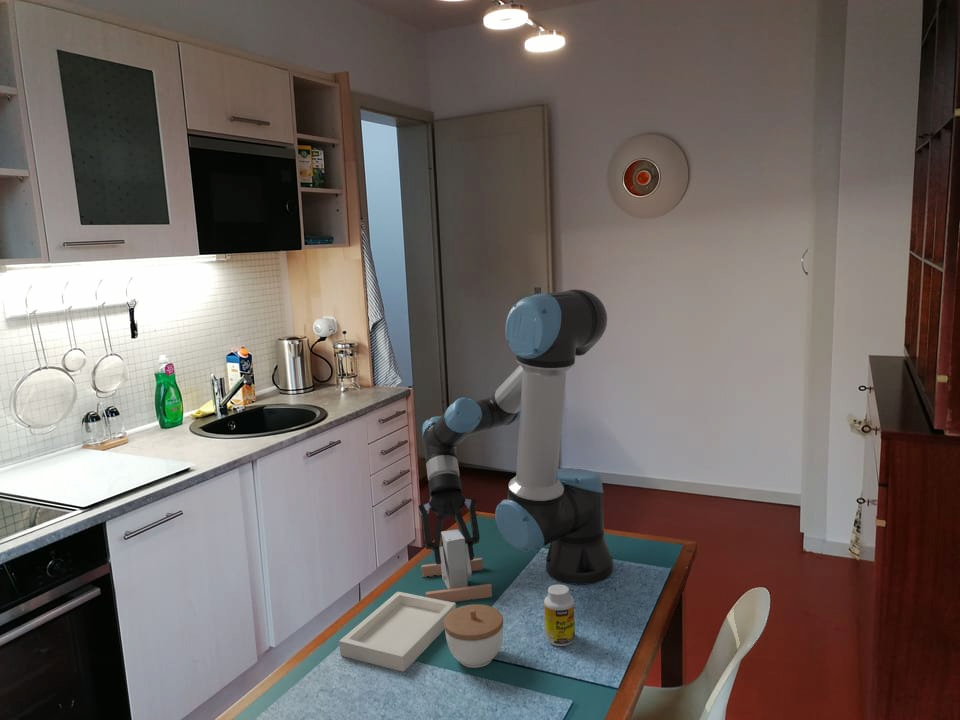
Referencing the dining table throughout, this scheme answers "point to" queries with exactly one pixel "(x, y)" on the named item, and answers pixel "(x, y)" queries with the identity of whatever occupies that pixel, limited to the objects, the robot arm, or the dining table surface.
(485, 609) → the lidded jar
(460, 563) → the skincare box
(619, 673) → the dining table surface
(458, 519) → the robot arm
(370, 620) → the cream tray
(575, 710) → the dining table surface
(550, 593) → the supplement bottle
